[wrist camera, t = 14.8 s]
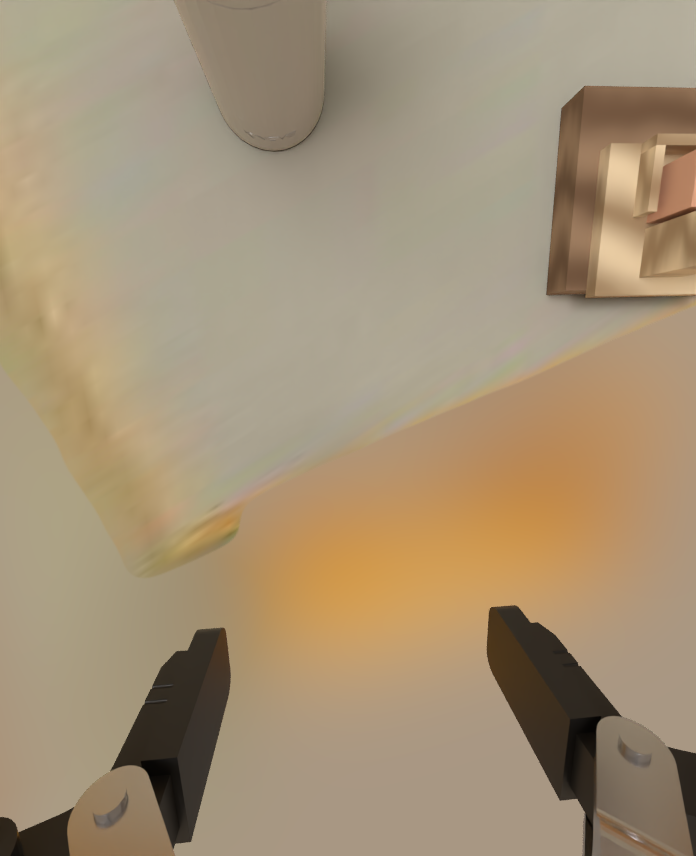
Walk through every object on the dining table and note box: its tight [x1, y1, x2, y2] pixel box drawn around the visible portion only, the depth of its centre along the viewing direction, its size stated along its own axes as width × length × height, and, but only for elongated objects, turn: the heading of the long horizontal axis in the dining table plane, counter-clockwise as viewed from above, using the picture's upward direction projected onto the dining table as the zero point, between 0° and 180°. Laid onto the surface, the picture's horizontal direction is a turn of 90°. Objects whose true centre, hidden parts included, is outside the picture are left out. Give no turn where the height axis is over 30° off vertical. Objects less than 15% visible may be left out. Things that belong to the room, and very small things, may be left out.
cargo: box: [646, 150, 696, 223], centre depth 30 cm, size 4×4×4 cm
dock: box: [546, 86, 696, 295], centre depth 35 cm, size 16×16×3 cm
